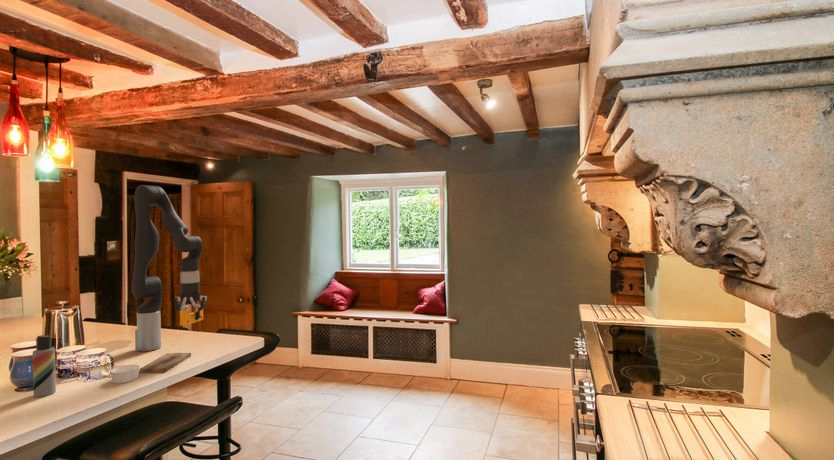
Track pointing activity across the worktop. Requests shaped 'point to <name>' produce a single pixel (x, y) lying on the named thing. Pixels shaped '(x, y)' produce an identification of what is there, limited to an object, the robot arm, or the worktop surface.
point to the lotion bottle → (44, 367)
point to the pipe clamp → (189, 317)
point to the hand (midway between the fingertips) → (190, 319)
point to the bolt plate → (165, 362)
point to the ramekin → (124, 373)
